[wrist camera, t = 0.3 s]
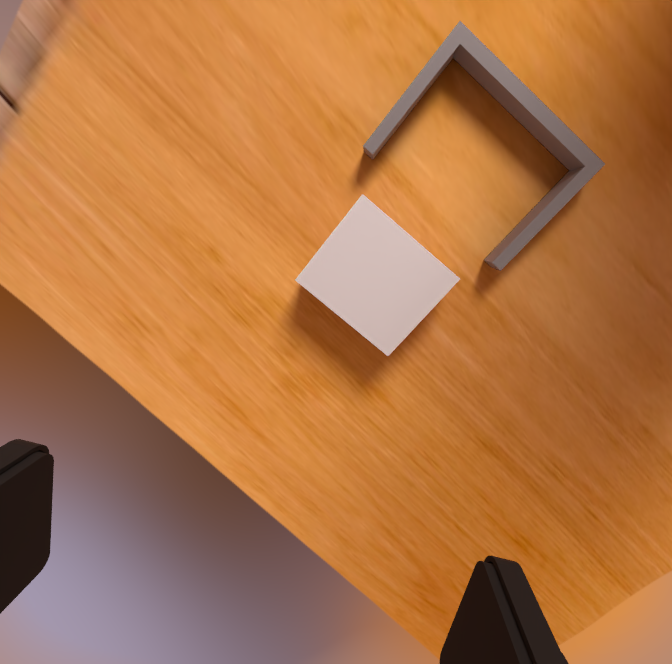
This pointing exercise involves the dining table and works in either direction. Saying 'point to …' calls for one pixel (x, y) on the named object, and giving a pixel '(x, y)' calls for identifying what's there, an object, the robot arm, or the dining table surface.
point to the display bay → (522, 109)
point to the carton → (376, 276)
